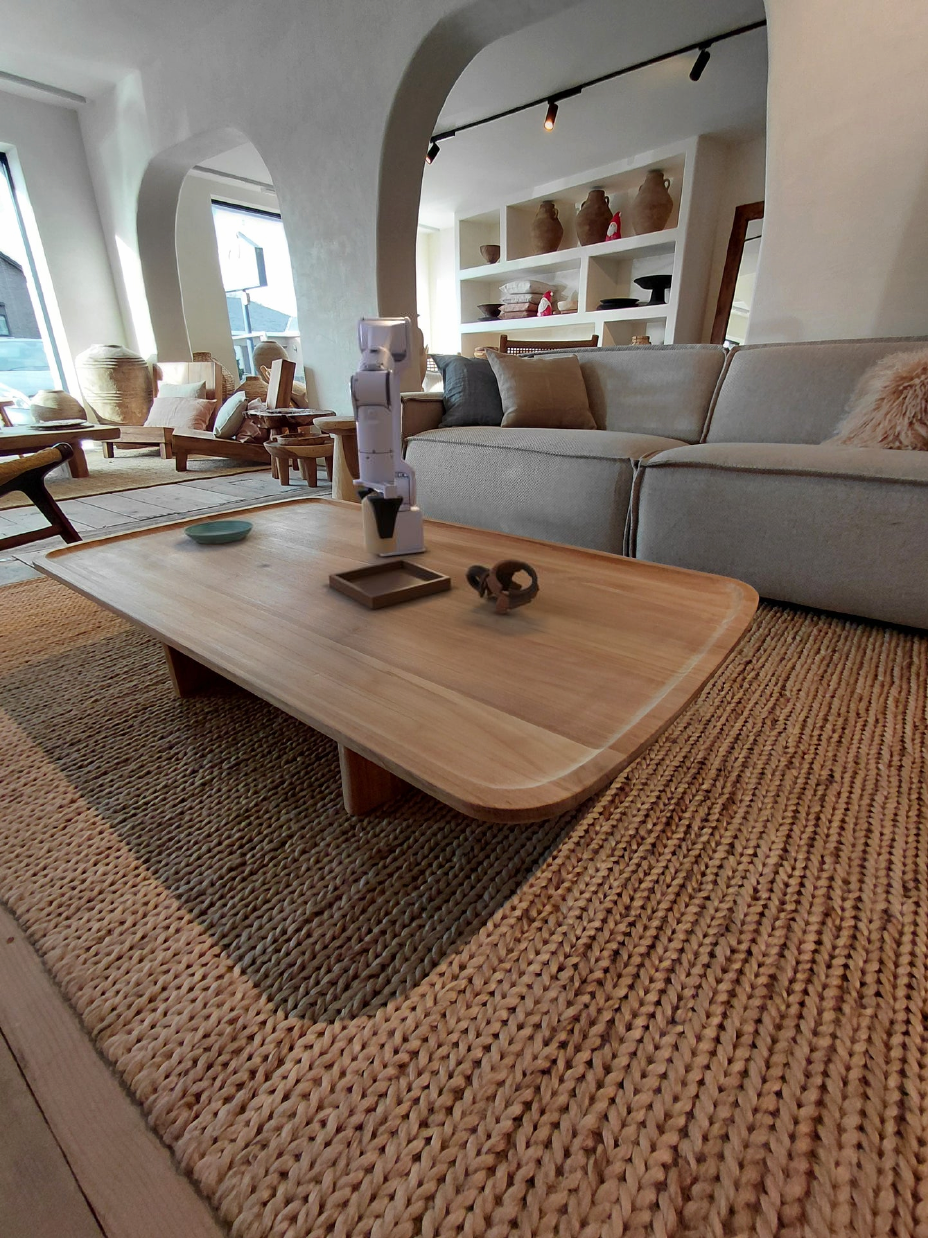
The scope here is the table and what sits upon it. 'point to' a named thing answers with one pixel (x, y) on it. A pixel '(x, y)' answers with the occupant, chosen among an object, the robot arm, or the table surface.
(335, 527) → the table surface
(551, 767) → the table surface
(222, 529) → the saucer
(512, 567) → the leather belt
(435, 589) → the tray
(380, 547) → the candle
